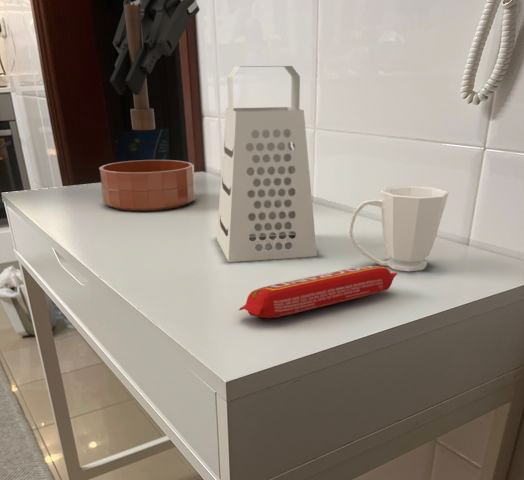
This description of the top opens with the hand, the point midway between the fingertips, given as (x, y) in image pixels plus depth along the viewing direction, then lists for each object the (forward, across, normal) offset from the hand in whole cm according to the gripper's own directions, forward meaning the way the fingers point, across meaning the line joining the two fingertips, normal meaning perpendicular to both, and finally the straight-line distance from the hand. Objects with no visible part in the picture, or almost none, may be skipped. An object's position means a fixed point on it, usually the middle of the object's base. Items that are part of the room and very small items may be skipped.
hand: (124, 87), depth 84 cm
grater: (+22, -29, -3) cm, 37 cm away
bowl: (+10, 0, -15) cm, 18 cm away
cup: (+23, -46, -2) cm, 51 cm away
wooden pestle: (+2, 0, -7) cm, 7 cm away
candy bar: (+34, -42, +8) cm, 55 cm away
